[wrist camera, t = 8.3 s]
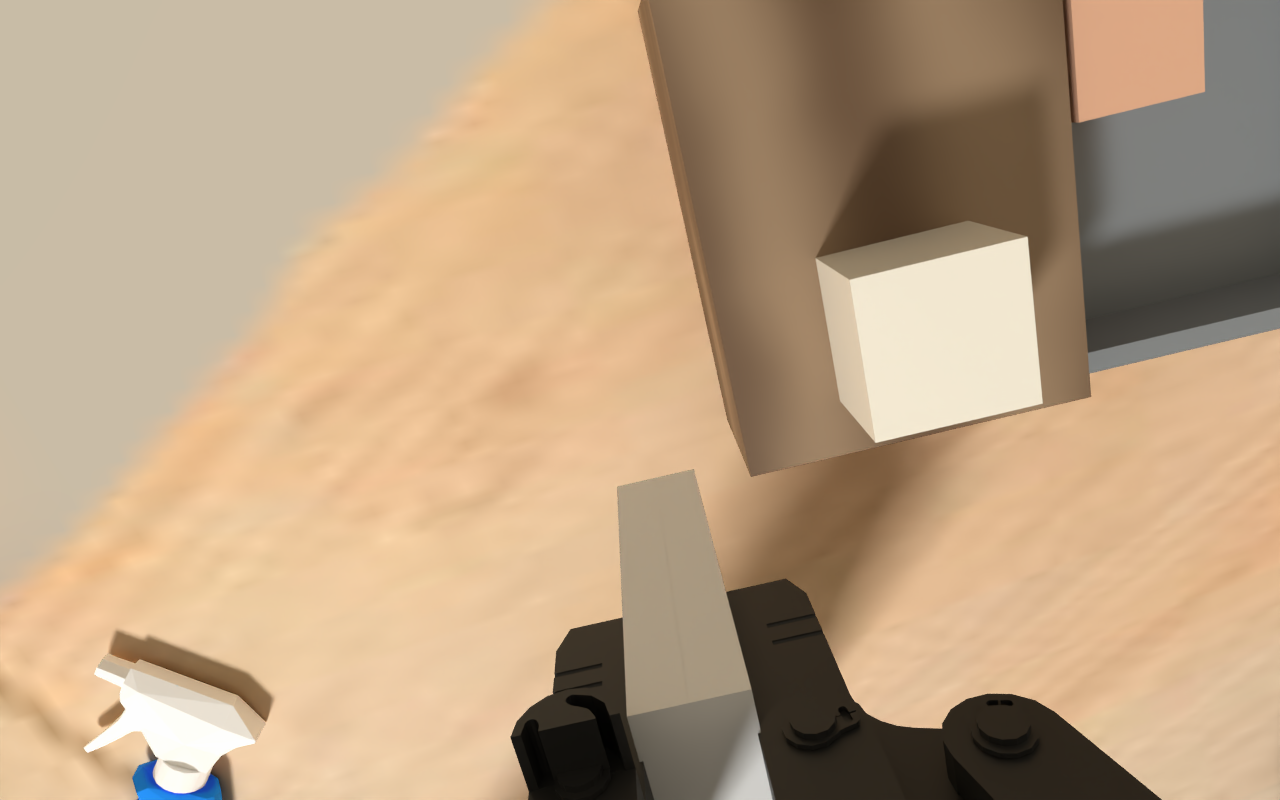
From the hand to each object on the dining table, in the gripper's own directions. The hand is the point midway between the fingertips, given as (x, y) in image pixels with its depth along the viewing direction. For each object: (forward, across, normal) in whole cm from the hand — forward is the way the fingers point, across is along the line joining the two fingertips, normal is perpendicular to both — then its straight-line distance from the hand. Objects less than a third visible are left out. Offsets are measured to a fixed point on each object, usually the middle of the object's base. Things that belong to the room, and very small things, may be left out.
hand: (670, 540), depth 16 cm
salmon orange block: (+15, -15, -7) cm, 23 cm away
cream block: (+12, -9, 0) cm, 15 cm away
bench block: (+18, -9, -3) cm, 21 cm away
